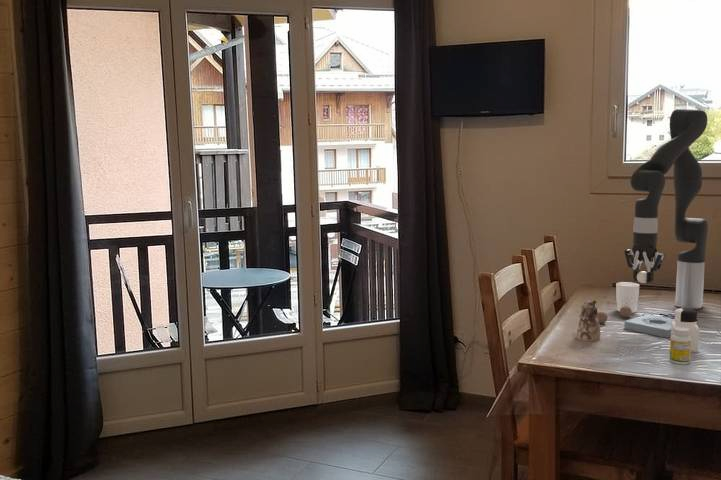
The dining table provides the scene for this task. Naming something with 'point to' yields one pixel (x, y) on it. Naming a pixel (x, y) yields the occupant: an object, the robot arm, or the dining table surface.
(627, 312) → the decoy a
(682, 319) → the medicine bottle
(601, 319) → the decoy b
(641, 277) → the ball
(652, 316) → the blue-grey square plate
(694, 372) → the dining table surface
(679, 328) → the supplement bottle
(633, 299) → the white cup
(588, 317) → the figurine
